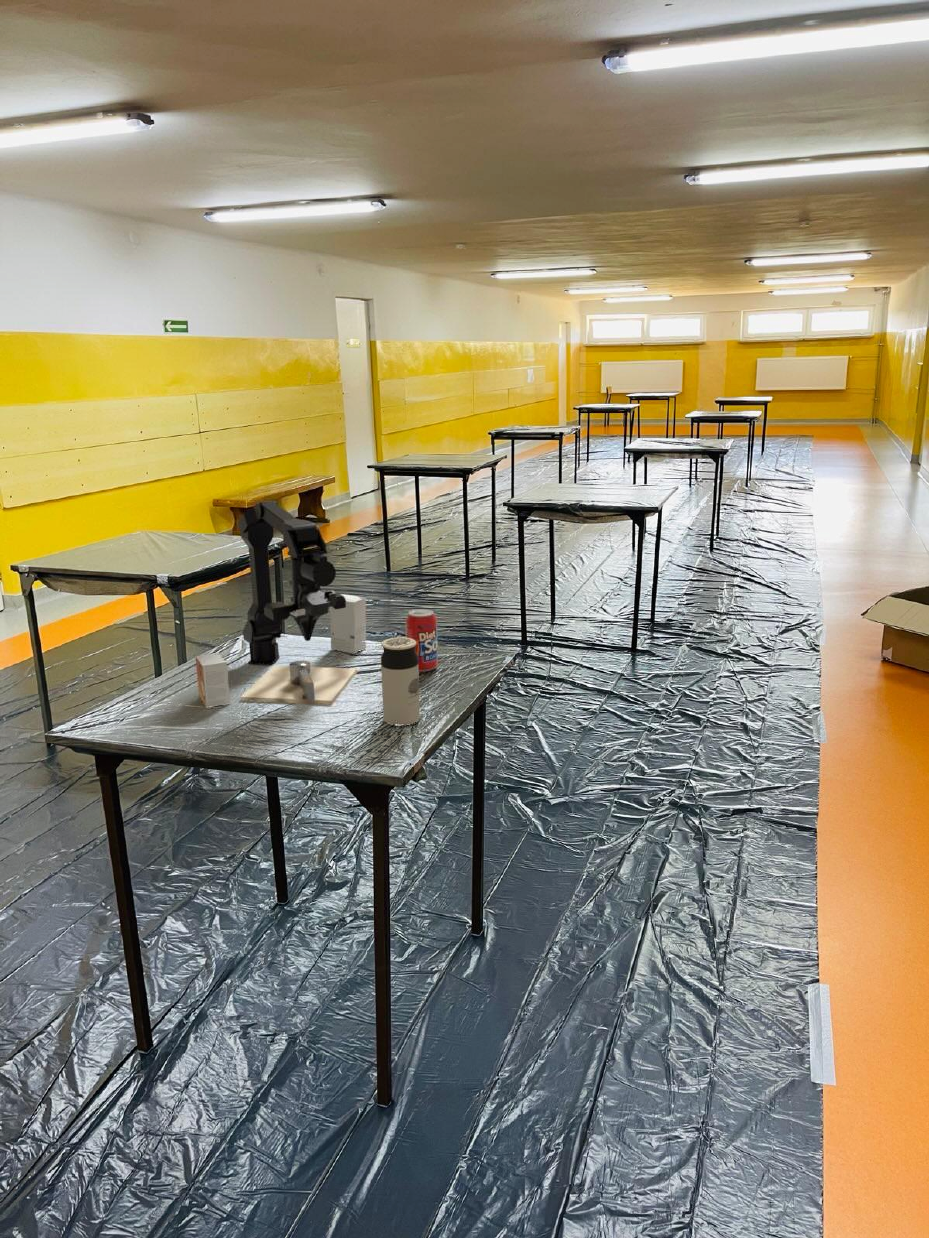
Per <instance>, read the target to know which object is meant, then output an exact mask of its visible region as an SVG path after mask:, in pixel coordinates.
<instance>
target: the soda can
mask: <svg viewBox="0 0 929 1238" xmlns="http://www.w3.org/2000/svg"><path fill="white" fill-rule="evenodd" d="M405 638H411V639H414V640H415V641H416V645H415V652H416V653H417V655H418V672H419V673H425V672H426V671H427V672H429V671H432V670H434V669H436V668H437V667H438V665H439V664H438V663H439V659H438V657H439V654H438V653H439V650H438V618H437V616H436V615H435V612H434V610H431V609H427V608H419V609H412V610H409V611H408V615H407V616H406V618H405ZM427 672H426V673H427Z"/></svg>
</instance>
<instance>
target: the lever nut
mask: <svg viewBox="0 0 929 1238" xmlns="http://www.w3.org/2000/svg"><path fill="white" fill-rule="evenodd" d="M288 666H289V667H290V680H291V683H292V684H296V685H300V687H301V688H302V690H303V692H304V694H305V696H306V698H307V700H315V695H314V683H313V681H312V679H311V667H312V666H311V662H310V661H308V660H295V661H292V662H290V663H289V665H288Z"/></svg>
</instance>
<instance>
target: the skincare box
mask: <svg viewBox="0 0 929 1238" xmlns="http://www.w3.org/2000/svg"><path fill="white" fill-rule="evenodd" d="M340 595H342V596H344V597H345V599H346V608H341V609H334V608H333V607H330V650H332V651H335V650H337V652H341V651H342V652H343V653H348V654H353V655H355V653H356V654H358V653H359V652H358V651H359V650H362V649H364V650H366V649H367V609H366V608H367V601H366V600H367V599H366V597H362V596H356V595H351V594H350V595H349V594H345V593H343V594H342V593H341V594H340ZM362 641H366V642H362ZM365 648H366V649H365ZM362 651H363V650H362ZM357 652H358V653H357Z"/></svg>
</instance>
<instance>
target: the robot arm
mask: <svg viewBox="0 0 929 1238" xmlns="http://www.w3.org/2000/svg"><path fill="white" fill-rule="evenodd" d="M237 528H238V530H239V532H240V538H241V540H242V541H243V542H244V543H245V545H246V546H247V548H248V555H249V556H248V557H249V559H248V560H249V570H250V581H251V591H252V592H251V595H252V603H251V605H250V608H249V609H248V611H247V621H246V623H245V625H244V627H243V630H242V637H243V640H244V641H246V642H247V643H248V646H249V656H250V660H249V661H247V663H248V664H249V665H267V666H269V665H270V666H271V665H273V664H274V663H275V662H276V661H277V660H278V659H279V658H280V657H281V656H280V652H279V643H278V642H277V640H276V639H280V638H281V636H282V629H283V620H288V619H289V617H291V618H293V620H294V622H295V623H296V624H297V627H298V628H299V630H300V633H301V635H302V637H303V638H304V640H305V641H306V642H310V641H311V639H312V635H313V633H314V629H315V627H316V623H317V622H318V620H319V619H320V618H321V617H322V616H324V615H326V614H329V611H330V608H331V607H333V608H334V609H341V608H346V599H345V597H344V596H342V595H341V594H340V593H338V592H336V591H335V590H333V589H332V590H326V591H322V589H321V587H327V586H329V585H331V584H332V583H333V582H334V580H335V578H336V575H337V571H336V568H335V566H334V564H333V563H331V562H330V561H328V556H327V555H325V554H328V550H327V544H326V542H325V540H324V538H323V535H322V534H321V531H320V529H319V527H318V526H317V525H316V524H315V522H312V521H310V520H306V519H299V518H296V517H295V516H293V514H291V513H290V512H288V511H287V510H286V509H284V508H283V507H282V506H280V505H279V503H278V501H276V500H265V501H258V502H256V503H255V504H254V506H253V507H251V508H249V509H248V510H246V511H245V512H243V513H242V514H241V516H240V517H239V519H238V520H237ZM274 529H275V530H276V531H278V532H279V533H280V534H281V535H282V537H283V538H282V541H283V543H284V544H285V546H286V547H287V550H288V551H287V555H288V556H290V570H291V572H290V573H291V579H290V580H289V585H290V586H291V587H292V588H291V589H292V596H290V602H292V603H290V604H285V603H284V602H282V601H275V602H273V597H272V584H271V583H272V582H271V573H270V572H271V571H270V558H269V557H270V556H269V546H270V544H271V542H272V541H273V539H274V535H275V534H274V531H275V530H274Z"/></svg>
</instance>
